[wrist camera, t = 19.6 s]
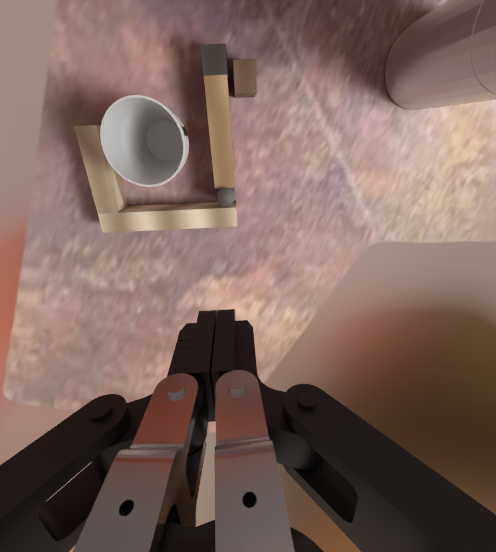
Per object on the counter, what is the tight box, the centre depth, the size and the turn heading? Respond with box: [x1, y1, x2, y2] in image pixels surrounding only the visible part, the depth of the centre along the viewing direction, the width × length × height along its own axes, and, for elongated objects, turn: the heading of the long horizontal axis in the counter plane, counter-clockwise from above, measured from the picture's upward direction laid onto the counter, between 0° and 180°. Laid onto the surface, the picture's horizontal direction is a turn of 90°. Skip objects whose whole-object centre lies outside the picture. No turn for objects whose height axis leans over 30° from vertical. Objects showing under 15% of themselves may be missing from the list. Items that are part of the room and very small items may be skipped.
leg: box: [200, 44, 235, 207], centre depth 34 cm, size 3×16×5 cm, turn 3°
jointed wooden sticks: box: [74, 59, 257, 233], centre depth 36 cm, size 21×18×4 cm
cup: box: [100, 95, 189, 187], centre depth 32 cm, size 8×8×10 cm
